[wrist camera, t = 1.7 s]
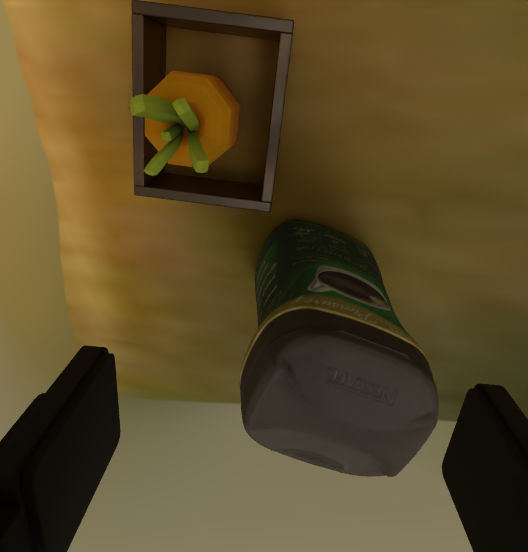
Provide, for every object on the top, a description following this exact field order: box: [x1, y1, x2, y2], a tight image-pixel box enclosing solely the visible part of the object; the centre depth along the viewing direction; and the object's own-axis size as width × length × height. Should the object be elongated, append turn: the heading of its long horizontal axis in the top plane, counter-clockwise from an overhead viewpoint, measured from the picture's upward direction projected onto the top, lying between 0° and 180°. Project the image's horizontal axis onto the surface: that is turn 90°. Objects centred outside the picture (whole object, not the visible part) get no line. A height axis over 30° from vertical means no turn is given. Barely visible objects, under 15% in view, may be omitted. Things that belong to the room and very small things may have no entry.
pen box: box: [132, 0, 294, 212], centre depth 29 cm, size 11×9×5 cm
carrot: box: [129, 70, 240, 176], centre depth 24 cm, size 5×5×15 cm
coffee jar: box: [240, 220, 439, 477], centre depth 27 cm, size 10×8×19 cm
